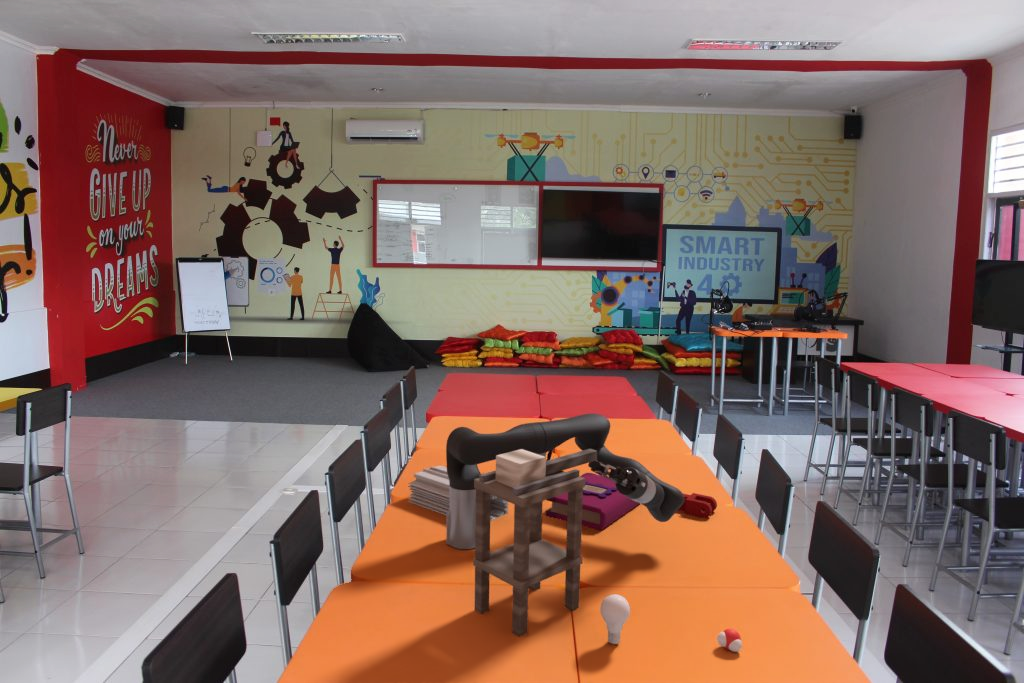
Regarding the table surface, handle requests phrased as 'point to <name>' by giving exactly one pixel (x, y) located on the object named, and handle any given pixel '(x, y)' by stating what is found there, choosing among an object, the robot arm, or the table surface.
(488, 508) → the shelf stand
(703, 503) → the mechanical linkage
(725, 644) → the molecule
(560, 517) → the book
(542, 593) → the table surface
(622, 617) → the lightbulb
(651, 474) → the robot arm
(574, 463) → the wooden mallet
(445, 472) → the stack of papers
